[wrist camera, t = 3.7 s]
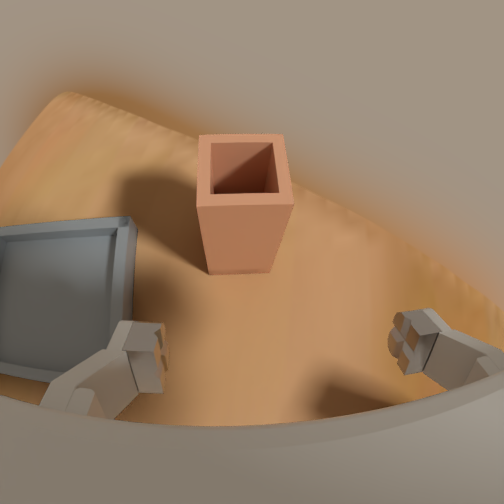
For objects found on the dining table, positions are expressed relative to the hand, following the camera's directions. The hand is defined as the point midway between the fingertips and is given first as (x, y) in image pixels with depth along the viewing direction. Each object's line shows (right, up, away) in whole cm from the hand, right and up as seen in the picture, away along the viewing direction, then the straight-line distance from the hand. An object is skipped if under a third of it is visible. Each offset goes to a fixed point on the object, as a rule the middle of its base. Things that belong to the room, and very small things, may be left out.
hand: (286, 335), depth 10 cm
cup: (-2, +3, +17) cm, 17 cm away
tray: (-19, -2, +13) cm, 23 cm away
